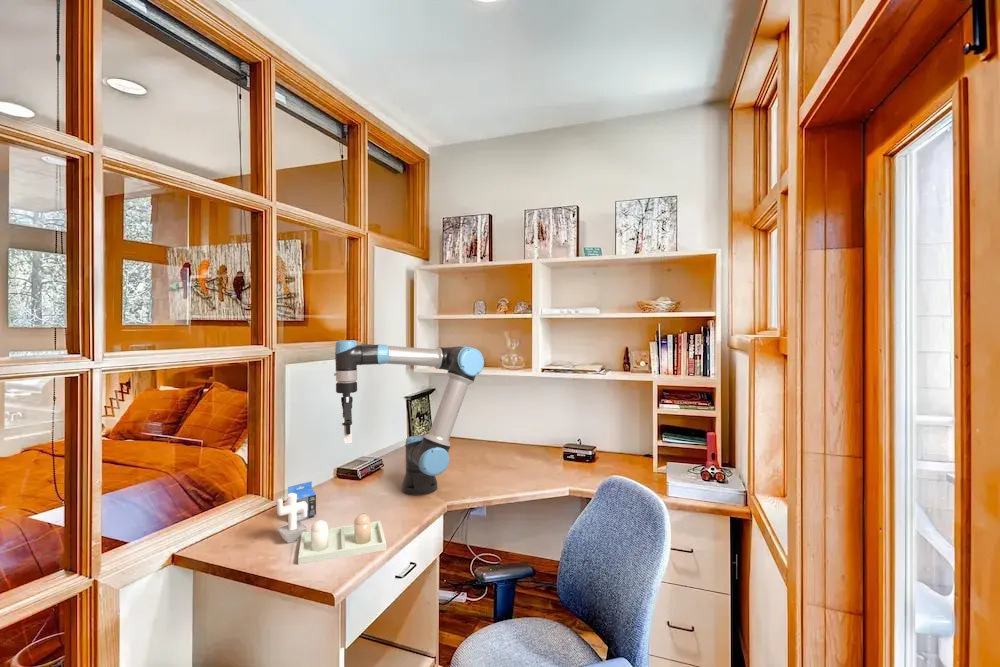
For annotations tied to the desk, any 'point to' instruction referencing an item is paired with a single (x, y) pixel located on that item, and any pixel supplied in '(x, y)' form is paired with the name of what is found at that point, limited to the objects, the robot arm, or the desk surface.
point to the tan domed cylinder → (362, 529)
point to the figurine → (292, 518)
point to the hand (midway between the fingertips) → (347, 438)
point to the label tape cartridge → (305, 499)
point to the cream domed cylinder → (319, 536)
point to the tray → (341, 544)
